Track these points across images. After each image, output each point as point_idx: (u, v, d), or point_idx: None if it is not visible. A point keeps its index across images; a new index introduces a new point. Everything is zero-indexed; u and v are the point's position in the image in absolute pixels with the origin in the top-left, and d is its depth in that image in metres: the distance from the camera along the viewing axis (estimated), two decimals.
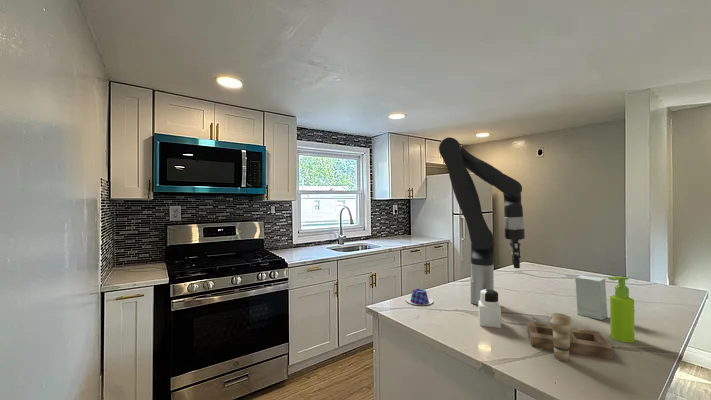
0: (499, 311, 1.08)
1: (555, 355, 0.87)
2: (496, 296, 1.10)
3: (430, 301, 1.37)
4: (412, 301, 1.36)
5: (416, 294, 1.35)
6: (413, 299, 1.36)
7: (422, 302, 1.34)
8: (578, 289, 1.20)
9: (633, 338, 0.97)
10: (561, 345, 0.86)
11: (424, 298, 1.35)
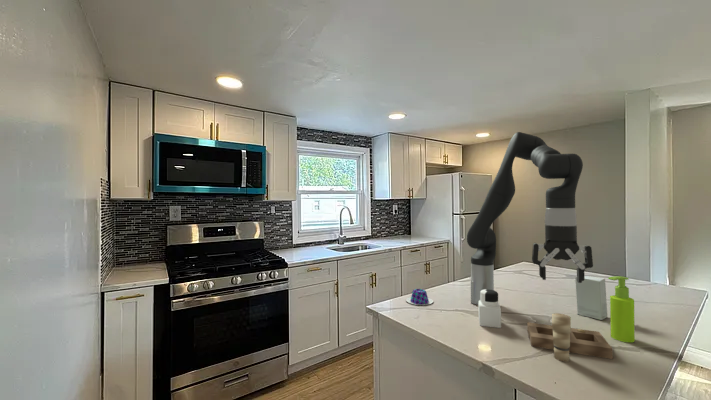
0: (499, 311, 1.08)
1: (555, 355, 0.87)
2: (496, 296, 1.10)
3: (430, 301, 1.37)
4: (412, 301, 1.36)
5: (416, 294, 1.35)
6: (413, 299, 1.36)
7: (422, 302, 1.34)
8: (578, 289, 1.20)
9: (633, 338, 0.97)
10: (561, 345, 0.86)
11: (424, 298, 1.35)
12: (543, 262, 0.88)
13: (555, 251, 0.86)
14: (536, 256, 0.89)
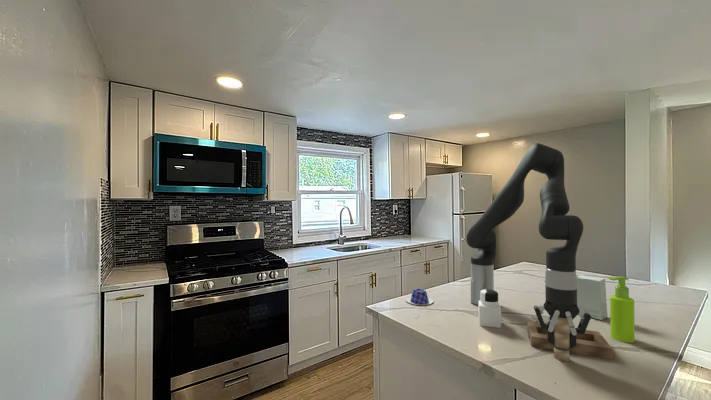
0: (499, 311, 1.08)
1: (555, 355, 0.87)
2: (496, 296, 1.10)
3: (430, 301, 1.36)
4: (412, 301, 1.36)
5: (415, 294, 1.35)
6: (412, 299, 1.36)
7: (421, 302, 1.34)
8: (578, 289, 1.20)
9: (633, 338, 0.97)
10: (561, 345, 0.86)
11: (423, 298, 1.34)
12: (550, 327, 0.87)
13: (556, 314, 0.86)
14: (541, 320, 0.88)
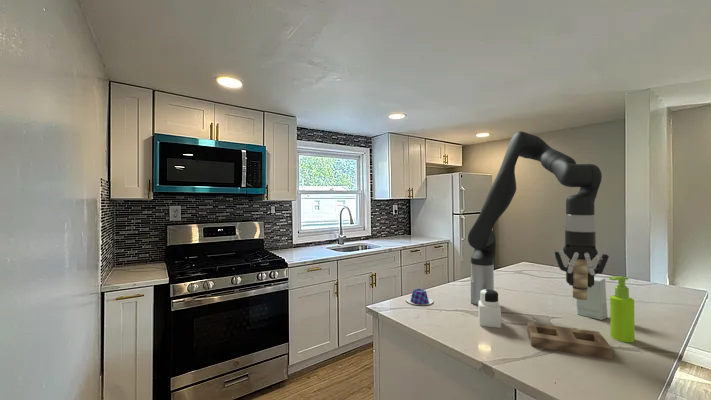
0: (499, 311, 1.08)
1: (574, 295, 0.93)
2: (496, 296, 1.10)
3: (430, 302, 1.36)
4: (411, 300, 1.37)
5: (415, 294, 1.35)
6: (412, 299, 1.36)
7: (420, 302, 1.34)
8: None
9: (633, 338, 0.97)
10: (580, 284, 0.92)
11: (423, 298, 1.34)
12: (569, 268, 0.93)
13: (575, 255, 0.92)
14: (561, 263, 0.94)
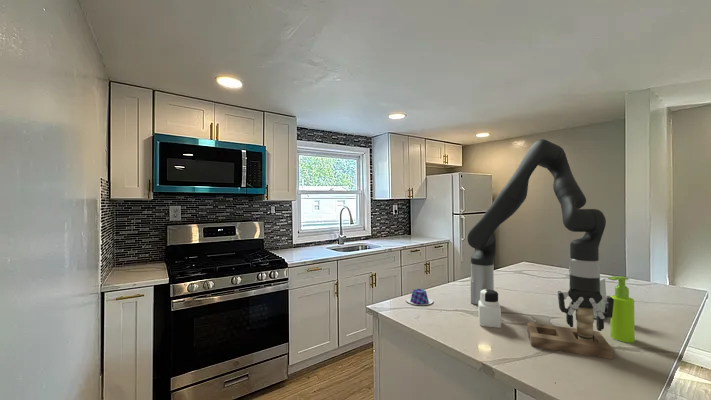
0: (499, 311, 1.08)
1: None
2: (496, 296, 1.10)
3: (430, 302, 1.35)
4: (411, 300, 1.37)
5: (414, 294, 1.36)
6: (412, 298, 1.37)
7: (419, 302, 1.34)
8: None
9: (633, 338, 0.97)
10: (585, 334, 0.92)
11: (422, 298, 1.34)
12: (570, 311, 0.95)
13: (580, 300, 0.93)
14: (563, 304, 0.95)
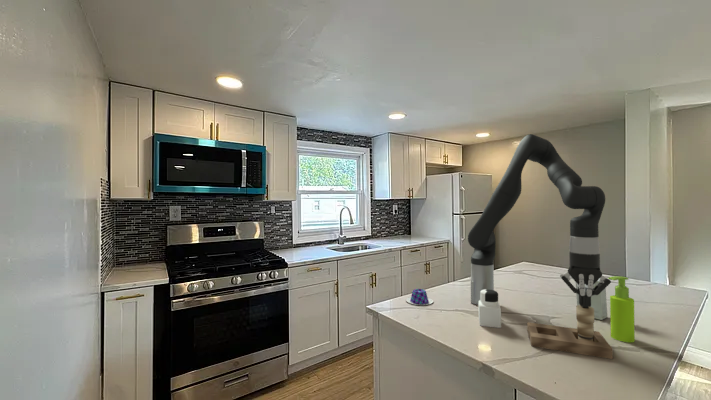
0: (499, 311, 1.08)
1: None
2: (496, 296, 1.10)
3: (429, 302, 1.35)
4: (411, 300, 1.37)
5: (414, 293, 1.36)
6: (411, 298, 1.37)
7: (418, 302, 1.34)
8: None
9: (633, 338, 0.97)
10: (585, 334, 0.92)
11: (421, 298, 1.34)
12: (581, 291, 0.94)
13: (581, 277, 0.93)
14: (571, 286, 0.94)
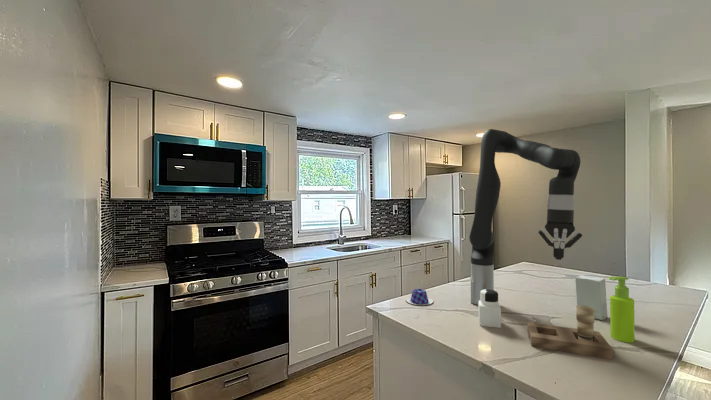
0: (499, 311, 1.08)
1: None
2: (496, 296, 1.10)
3: (429, 303, 1.34)
4: (411, 300, 1.38)
5: (413, 293, 1.36)
6: (411, 298, 1.37)
7: (418, 302, 1.34)
8: (578, 289, 1.20)
9: (633, 338, 0.97)
10: (585, 334, 0.92)
11: (421, 298, 1.34)
12: (555, 244, 1.03)
13: (555, 231, 1.03)
14: (547, 239, 1.04)
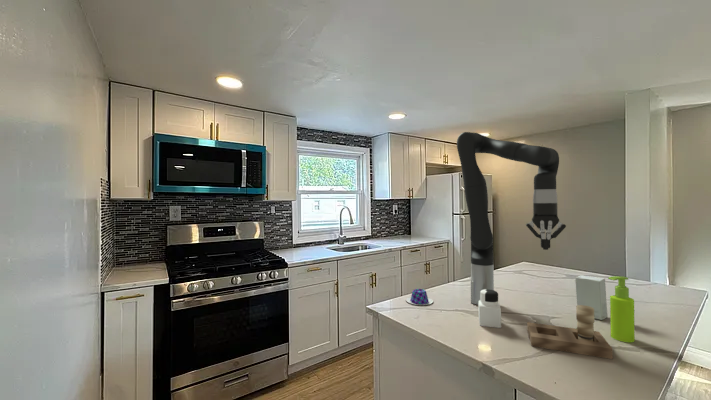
0: (499, 311, 1.08)
1: None
2: (496, 296, 1.10)
3: (429, 303, 1.34)
4: (410, 299, 1.38)
5: (413, 293, 1.36)
6: (411, 298, 1.38)
7: (417, 302, 1.34)
8: (578, 289, 1.20)
9: (633, 338, 0.97)
10: (585, 334, 0.92)
11: (420, 298, 1.34)
12: (542, 235, 1.11)
13: (542, 223, 1.11)
14: (534, 231, 1.12)
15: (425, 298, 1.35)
